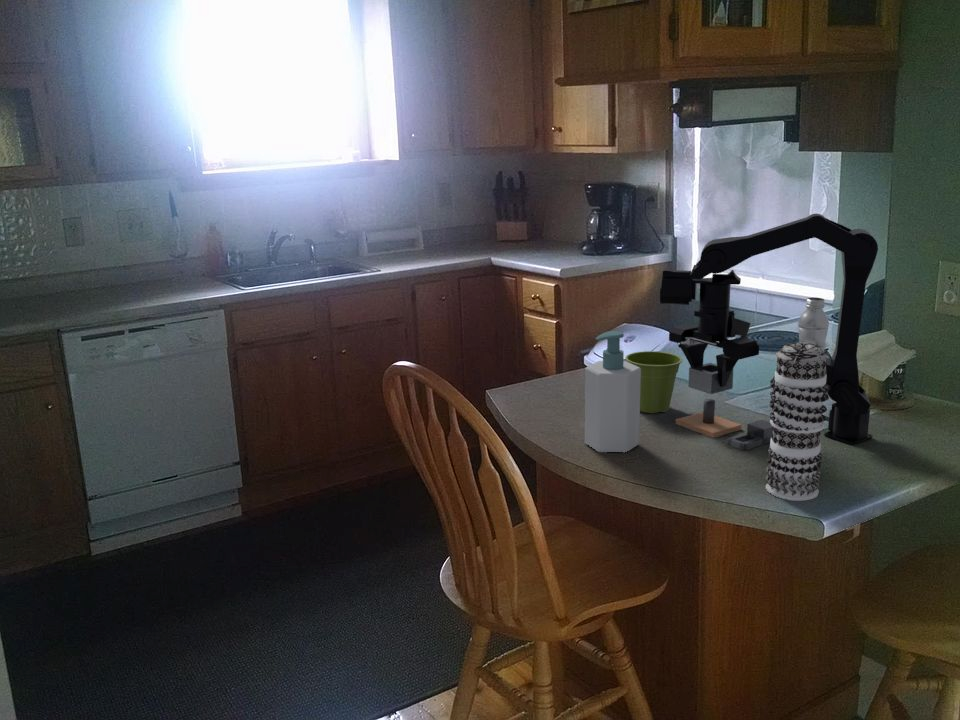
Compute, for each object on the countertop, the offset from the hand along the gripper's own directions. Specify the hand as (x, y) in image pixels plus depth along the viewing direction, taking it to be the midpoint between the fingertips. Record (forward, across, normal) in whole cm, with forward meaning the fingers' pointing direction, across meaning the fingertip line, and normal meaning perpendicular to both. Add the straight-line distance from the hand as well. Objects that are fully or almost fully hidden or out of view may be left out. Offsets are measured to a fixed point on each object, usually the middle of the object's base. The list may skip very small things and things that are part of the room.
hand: (710, 382), depth 181 cm
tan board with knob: (+9, 0, 0) cm, 9 cm away
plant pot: (+9, +15, +1) cm, 18 cm away
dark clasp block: (+9, -11, 0) cm, 14 cm away
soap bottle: (+9, +4, +22) cm, 24 cm away
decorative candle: (+10, -30, +12) cm, 34 cm away
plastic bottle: (+10, +6, -39) cm, 41 cm away
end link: (+1, 0, 0) cm, 1 cm away
